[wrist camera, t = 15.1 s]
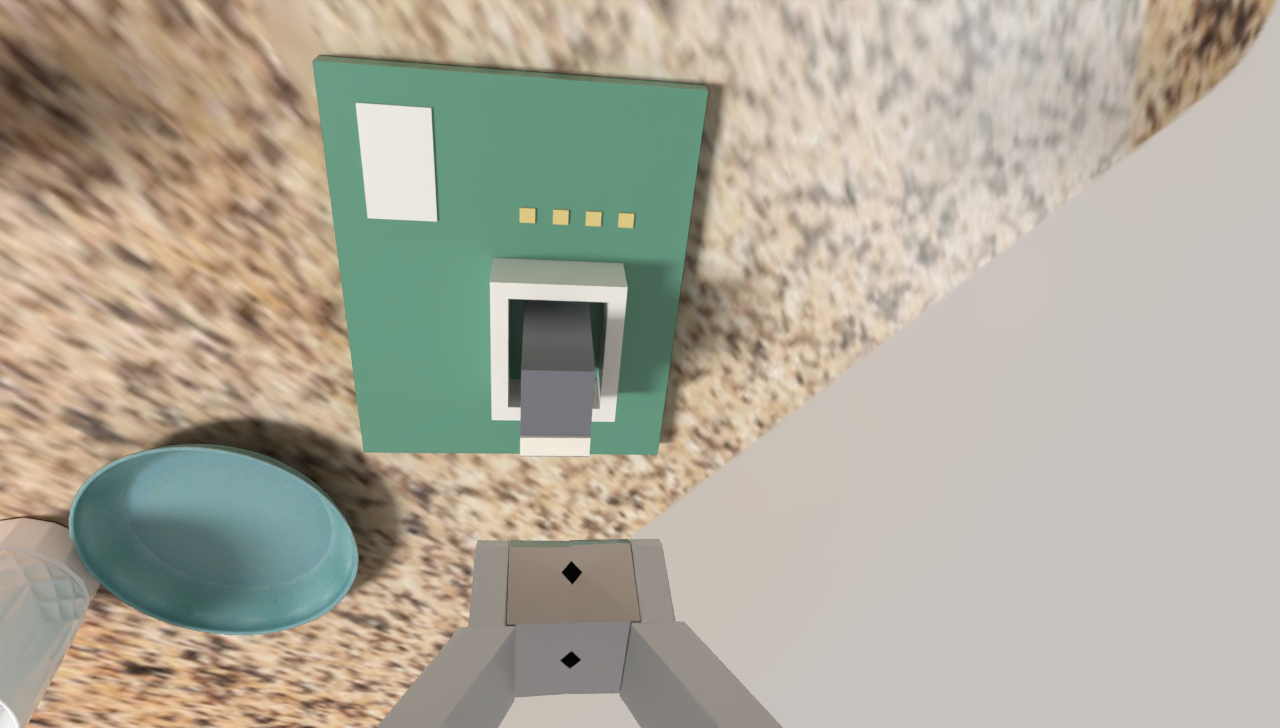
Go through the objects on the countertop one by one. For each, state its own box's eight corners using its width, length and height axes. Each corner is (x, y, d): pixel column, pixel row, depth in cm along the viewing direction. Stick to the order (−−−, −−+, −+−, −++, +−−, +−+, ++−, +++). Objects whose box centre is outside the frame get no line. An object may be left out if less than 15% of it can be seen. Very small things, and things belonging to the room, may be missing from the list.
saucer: (61, 406, 39) (32, 439, 37) (362, 424, 41) (351, 455, 39) (123, 599, 47) (101, 635, 44) (372, 604, 49) (364, 638, 47)
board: (318, 55, 31) (295, 75, 28) (704, 84, 33) (719, 106, 30) (367, 440, 41) (353, 483, 39) (655, 443, 44) (662, 484, 41)
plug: (525, 289, 36) (521, 372, 30) (587, 292, 37) (595, 373, 31) (524, 367, 39) (519, 458, 33) (582, 369, 39) (589, 458, 33)
